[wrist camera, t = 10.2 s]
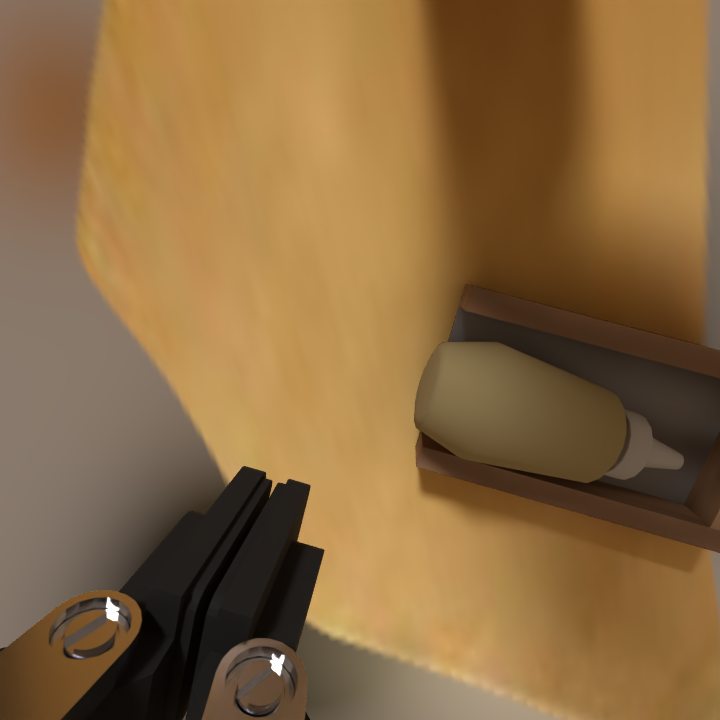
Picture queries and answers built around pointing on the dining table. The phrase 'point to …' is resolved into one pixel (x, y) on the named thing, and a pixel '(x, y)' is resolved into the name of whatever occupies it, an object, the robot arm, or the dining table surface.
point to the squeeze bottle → (531, 416)
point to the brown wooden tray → (638, 394)
